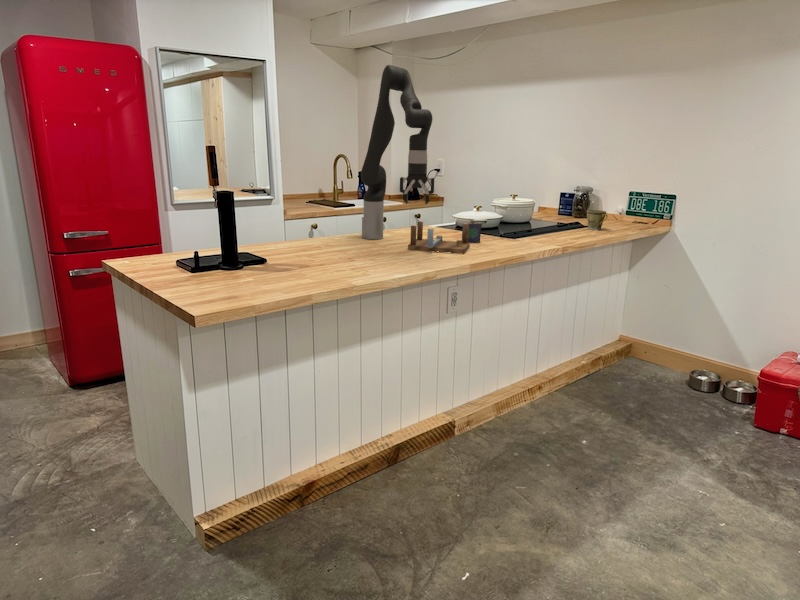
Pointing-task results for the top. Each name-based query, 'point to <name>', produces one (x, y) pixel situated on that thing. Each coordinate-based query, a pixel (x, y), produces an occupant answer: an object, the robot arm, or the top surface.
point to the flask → (473, 232)
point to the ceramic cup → (595, 219)
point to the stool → (441, 246)
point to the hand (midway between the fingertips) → (416, 203)
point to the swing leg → (430, 239)
